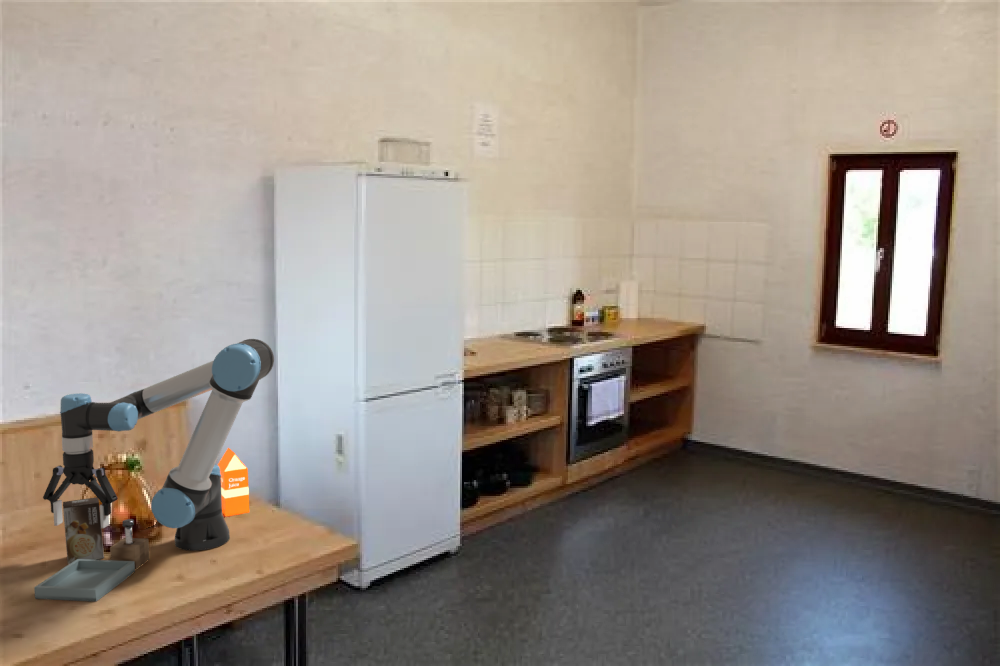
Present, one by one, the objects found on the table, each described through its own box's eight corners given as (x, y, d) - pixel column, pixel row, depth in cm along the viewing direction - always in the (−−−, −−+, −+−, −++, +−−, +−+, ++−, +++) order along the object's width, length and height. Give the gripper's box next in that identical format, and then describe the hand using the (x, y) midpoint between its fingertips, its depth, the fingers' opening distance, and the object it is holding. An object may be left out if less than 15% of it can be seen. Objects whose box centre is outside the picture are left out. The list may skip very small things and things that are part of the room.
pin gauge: (138, 562, 233) (135, 519, 232) (132, 566, 230) (130, 522, 229) (128, 561, 233) (126, 518, 232) (123, 565, 231) (120, 522, 229)
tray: (134, 572, 227) (134, 561, 226) (96, 601, 209) (95, 589, 208) (78, 569, 228) (77, 558, 228) (35, 598, 210) (34, 587, 210)
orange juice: (242, 504, 281) (240, 445, 279) (250, 512, 274) (247, 451, 271) (218, 508, 277) (215, 449, 274) (225, 516, 270) (222, 455, 267)
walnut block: (149, 559, 235) (148, 538, 234) (136, 569, 228) (134, 548, 227) (125, 558, 236) (124, 537, 235) (111, 568, 229) (110, 547, 228)
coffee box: (102, 551, 241) (99, 496, 239) (104, 558, 236) (100, 502, 234) (66, 556, 237) (62, 501, 235) (66, 564, 232) (62, 507, 230)
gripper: (128, 448, 235) (131, 522, 238) (43, 445, 238) (47, 518, 240) (113, 456, 228) (117, 532, 230) (26, 452, 230) (30, 527, 233)
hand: (81, 525), depth 235 cm, fingers open, 13 cm apart
